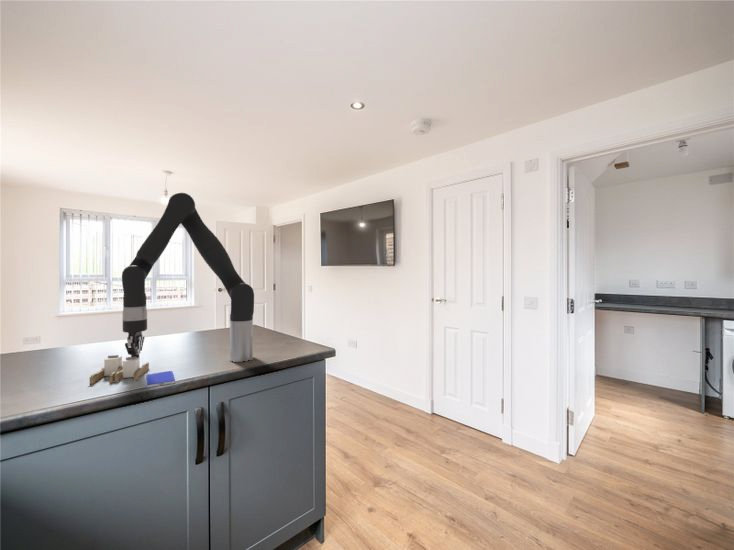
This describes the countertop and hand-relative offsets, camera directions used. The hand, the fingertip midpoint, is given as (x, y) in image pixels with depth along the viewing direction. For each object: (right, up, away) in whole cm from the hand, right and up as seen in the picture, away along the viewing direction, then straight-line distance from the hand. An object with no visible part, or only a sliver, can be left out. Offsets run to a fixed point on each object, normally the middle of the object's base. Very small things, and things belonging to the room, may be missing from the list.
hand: (135, 364), depth 122 cm
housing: (-6, -3, -5) cm, 8 cm away
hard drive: (+14, -4, -7) cm, 17 cm away
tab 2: (+1, -3, -4) cm, 5 cm away
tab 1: (-7, -3, -2) cm, 8 cm away
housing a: (+1, -3, -3) cm, 4 cm away
